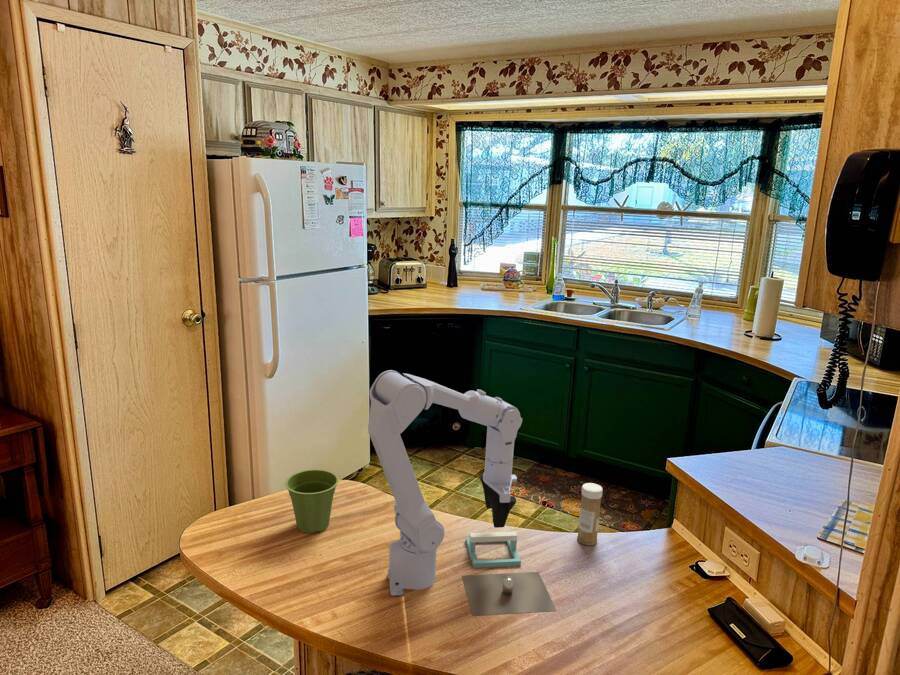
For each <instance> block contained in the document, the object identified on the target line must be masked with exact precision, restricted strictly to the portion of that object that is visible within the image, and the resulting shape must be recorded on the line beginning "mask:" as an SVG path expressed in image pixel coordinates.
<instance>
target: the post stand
mask: <svg viewBox="0 0 900 675" xmlns="http://www.w3.org/2000/svg"><path fill="white" fill-rule="evenodd" d="M461 578H462V582H463V586H464V590H465V593H466V597H467V601H468V604H469V608H470V612H471V616H472V617H477V616H478V617H479V616H481V617H482V616H497V615H510V614H511V615H513V614H527V613H542V612H543V613H544V612H545V613H546V612H557V608H556V607H555V604H554V602H553V600H552V598H551V595H550V592H549V591H548V589H547V587H546V584H545V583H544V580H543V579H542V576H541V574H540V572H539V571H530V572H528V571H527V572H526V571H525V572H509V573H507V572H506V573H492V574H491V573H490V574H487V573H486V574H472V575H469V574H468V575H461Z"/></svg>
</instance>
